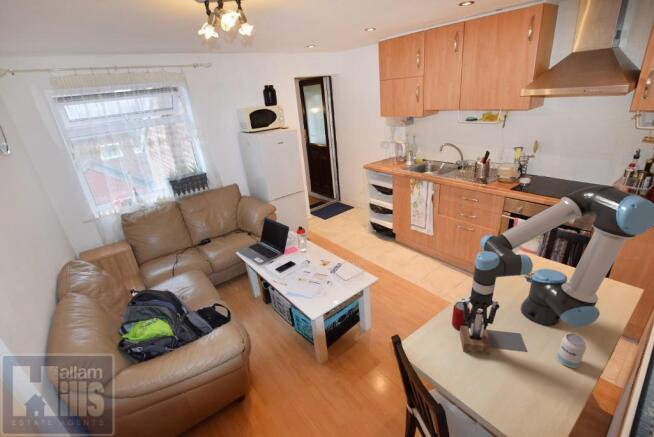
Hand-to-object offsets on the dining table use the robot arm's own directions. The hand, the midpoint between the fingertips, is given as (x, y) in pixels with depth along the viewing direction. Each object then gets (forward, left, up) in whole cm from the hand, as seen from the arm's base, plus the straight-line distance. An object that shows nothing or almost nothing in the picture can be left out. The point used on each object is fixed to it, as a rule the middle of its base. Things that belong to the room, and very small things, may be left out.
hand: (475, 333), depth 125 cm
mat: (-13, -4, -6) cm, 15 cm away
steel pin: (0, 0, -3) cm, 3 cm away
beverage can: (+4, -10, -6) cm, 12 cm away
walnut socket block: (0, 0, -6) cm, 6 cm away
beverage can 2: (-33, +3, -6) cm, 34 cm away
